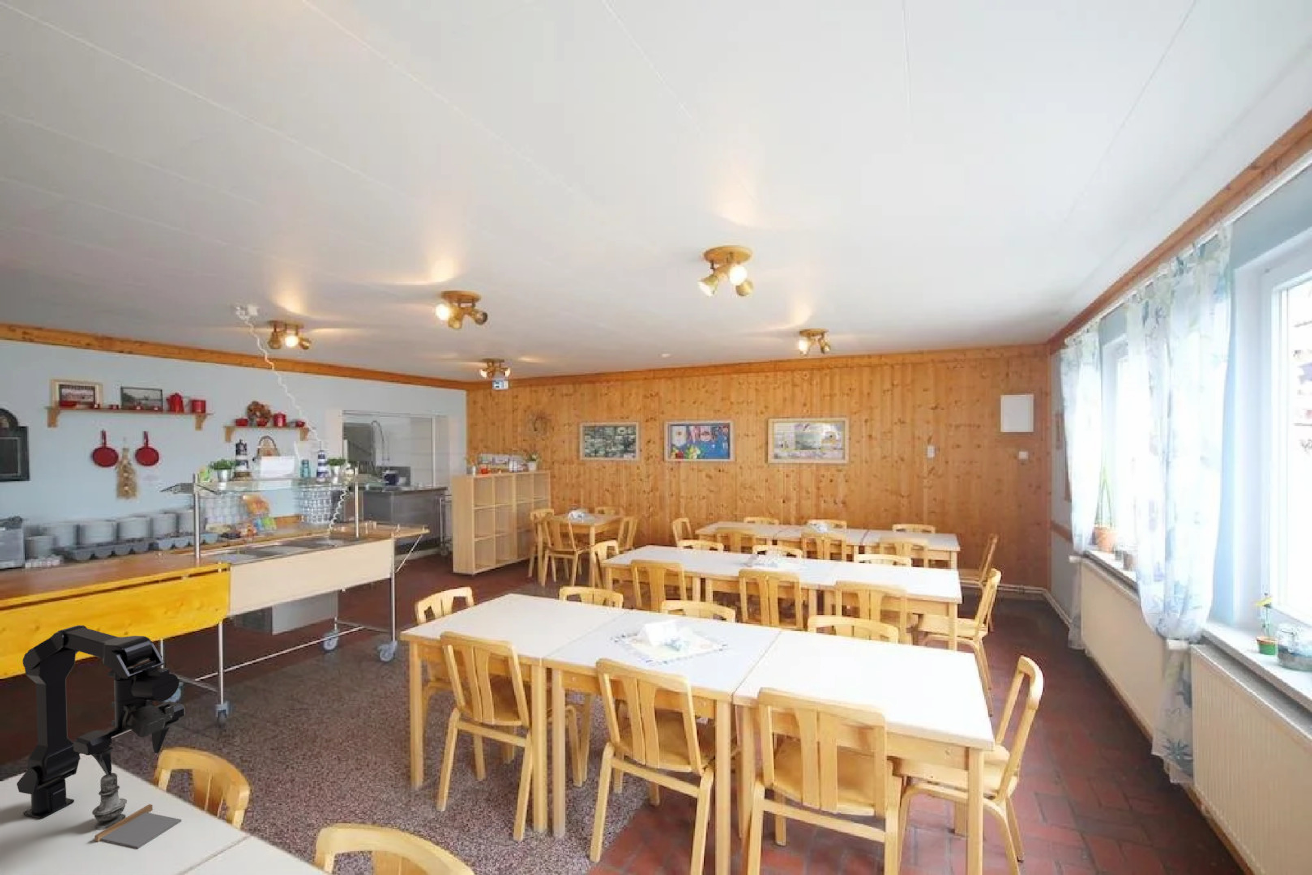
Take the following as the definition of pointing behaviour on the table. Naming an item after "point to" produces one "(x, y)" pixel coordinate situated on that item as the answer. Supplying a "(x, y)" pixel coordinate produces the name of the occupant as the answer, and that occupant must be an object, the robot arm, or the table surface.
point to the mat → (141, 830)
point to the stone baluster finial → (109, 803)
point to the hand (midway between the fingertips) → (133, 763)
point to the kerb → (123, 822)
